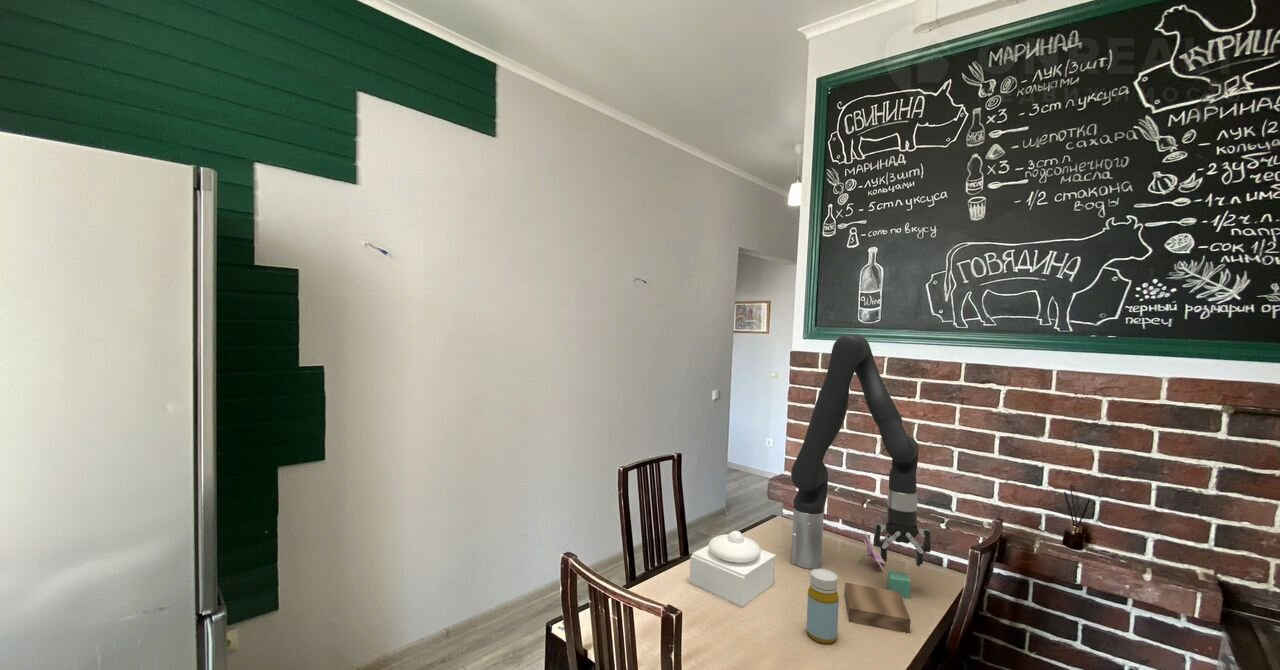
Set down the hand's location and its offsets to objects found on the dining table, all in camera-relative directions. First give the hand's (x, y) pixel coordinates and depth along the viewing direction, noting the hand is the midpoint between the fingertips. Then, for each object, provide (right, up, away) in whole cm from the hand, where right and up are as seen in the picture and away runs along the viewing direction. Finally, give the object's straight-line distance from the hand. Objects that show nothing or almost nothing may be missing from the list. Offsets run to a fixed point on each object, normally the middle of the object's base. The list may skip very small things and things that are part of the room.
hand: (901, 562), depth 143 cm
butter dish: (-48, -8, +2) cm, 49 cm away
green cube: (-1, -9, +1) cm, 9 cm away
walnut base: (-12, -9, -10) cm, 19 cm away
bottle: (-31, -8, -21) cm, 38 cm away
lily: (-1, -9, +17) cm, 19 cm away
